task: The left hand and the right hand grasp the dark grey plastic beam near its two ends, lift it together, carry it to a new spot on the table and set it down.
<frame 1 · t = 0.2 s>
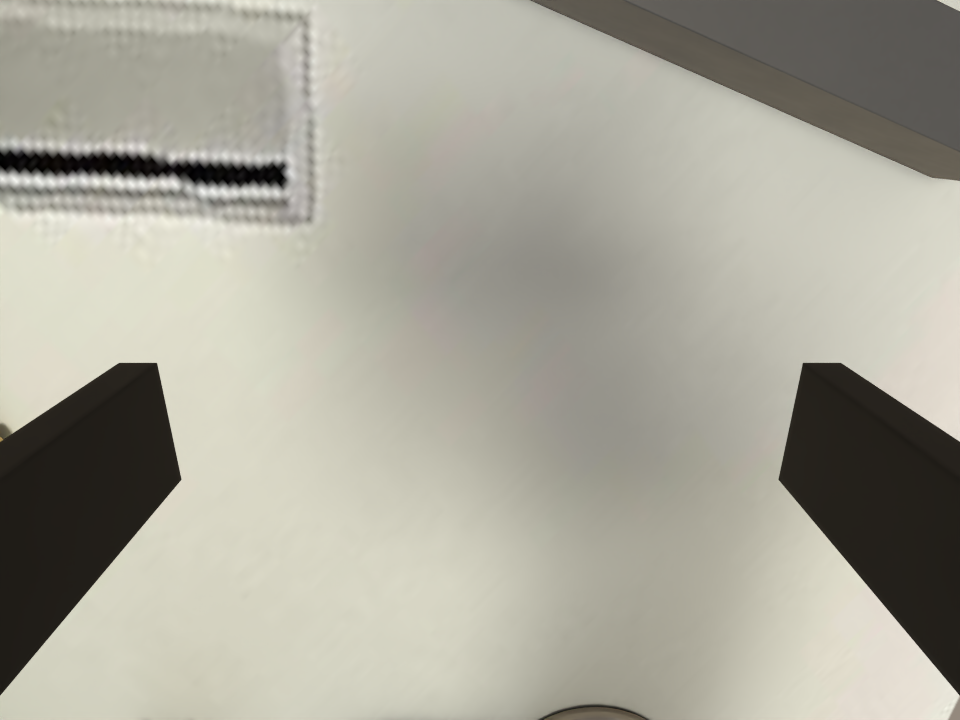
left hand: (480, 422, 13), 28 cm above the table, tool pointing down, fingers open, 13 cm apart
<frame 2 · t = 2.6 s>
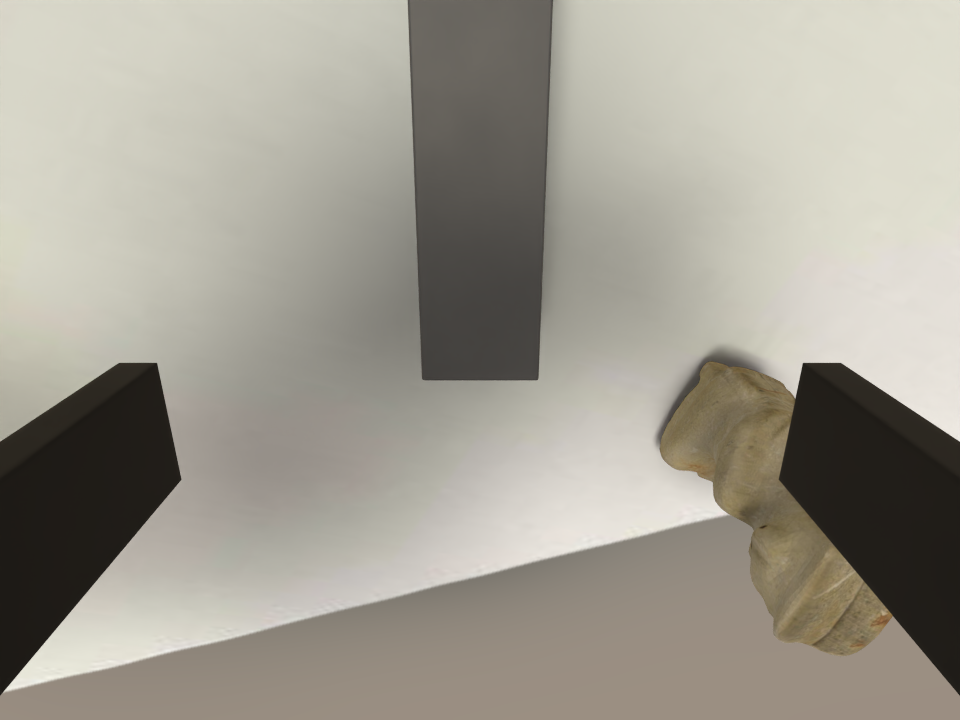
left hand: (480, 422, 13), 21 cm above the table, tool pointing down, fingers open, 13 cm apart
sculpture: (707, 406, 35), on the table
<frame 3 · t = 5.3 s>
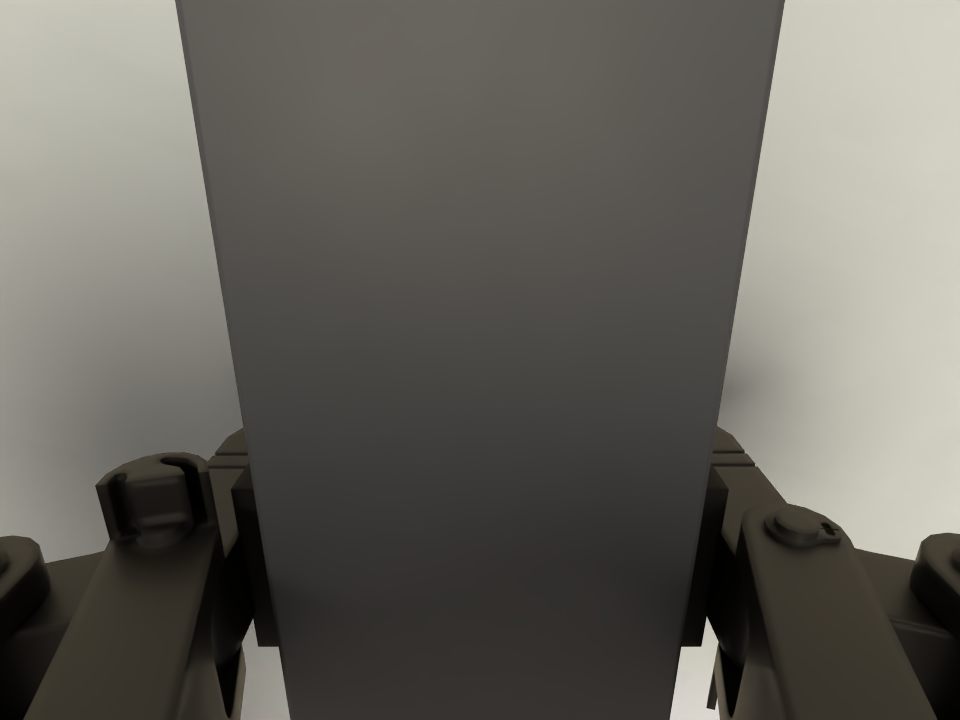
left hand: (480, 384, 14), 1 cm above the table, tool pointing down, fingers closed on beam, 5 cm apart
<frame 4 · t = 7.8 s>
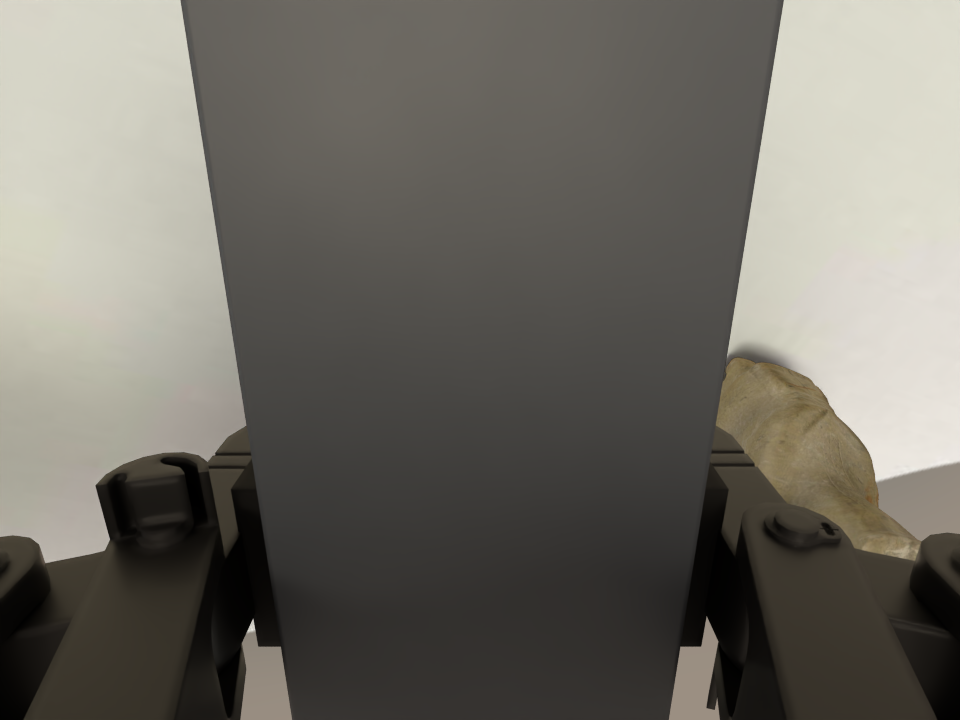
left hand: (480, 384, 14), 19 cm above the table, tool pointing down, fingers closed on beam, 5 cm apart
sculpture: (732, 403, 35), on the table
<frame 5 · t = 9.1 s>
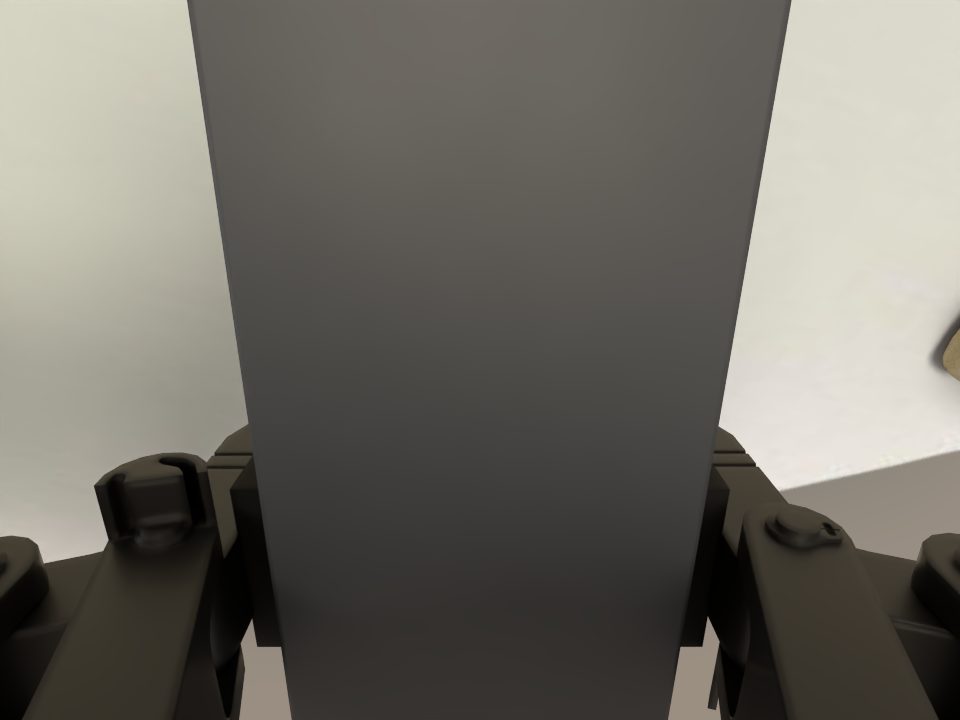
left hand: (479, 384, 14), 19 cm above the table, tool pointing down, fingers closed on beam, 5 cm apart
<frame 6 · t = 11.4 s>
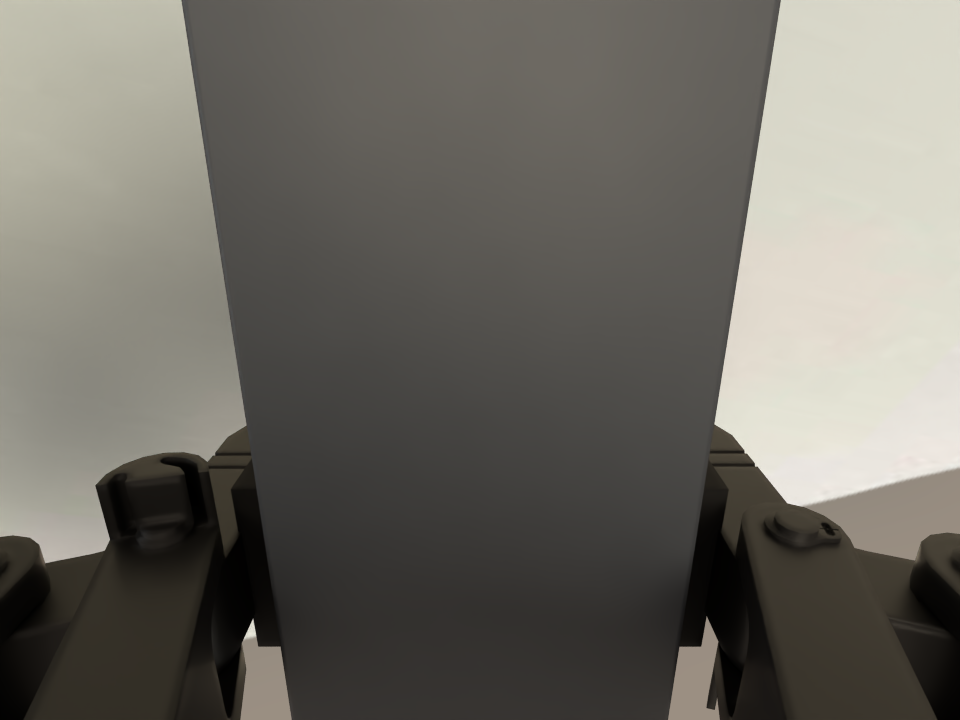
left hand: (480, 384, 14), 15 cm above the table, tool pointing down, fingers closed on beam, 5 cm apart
when the left hand's fingers open (1 cm above the table, at t = 13.2 s): beam stays where it is, on the table.
when the right hand's fingers open (4 cm above the table, at t = 13.4 s): beam stays where it is, on the table.
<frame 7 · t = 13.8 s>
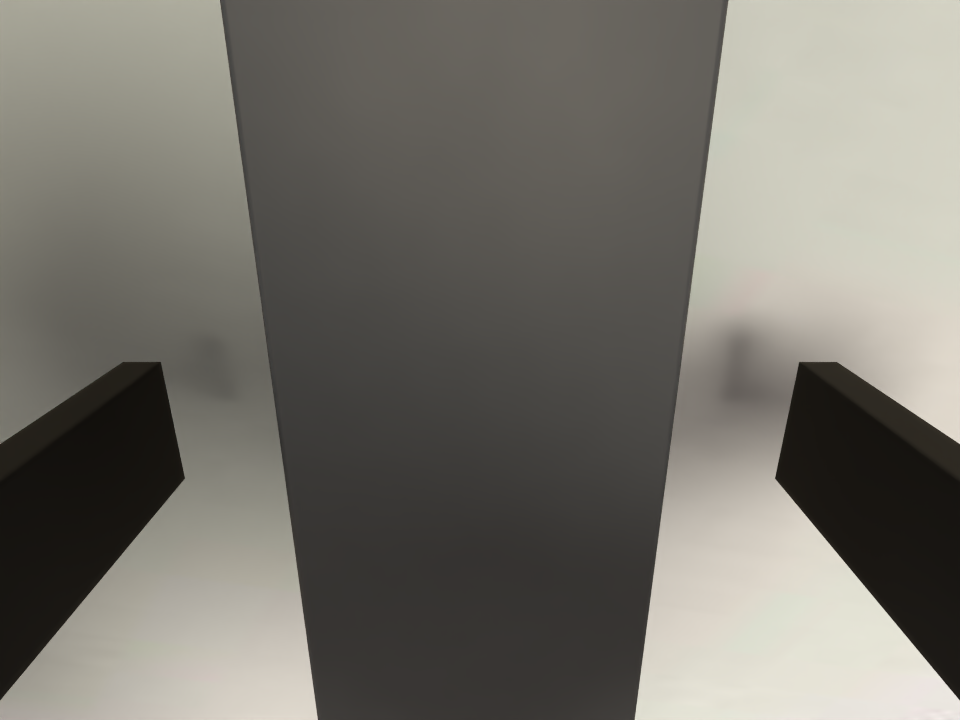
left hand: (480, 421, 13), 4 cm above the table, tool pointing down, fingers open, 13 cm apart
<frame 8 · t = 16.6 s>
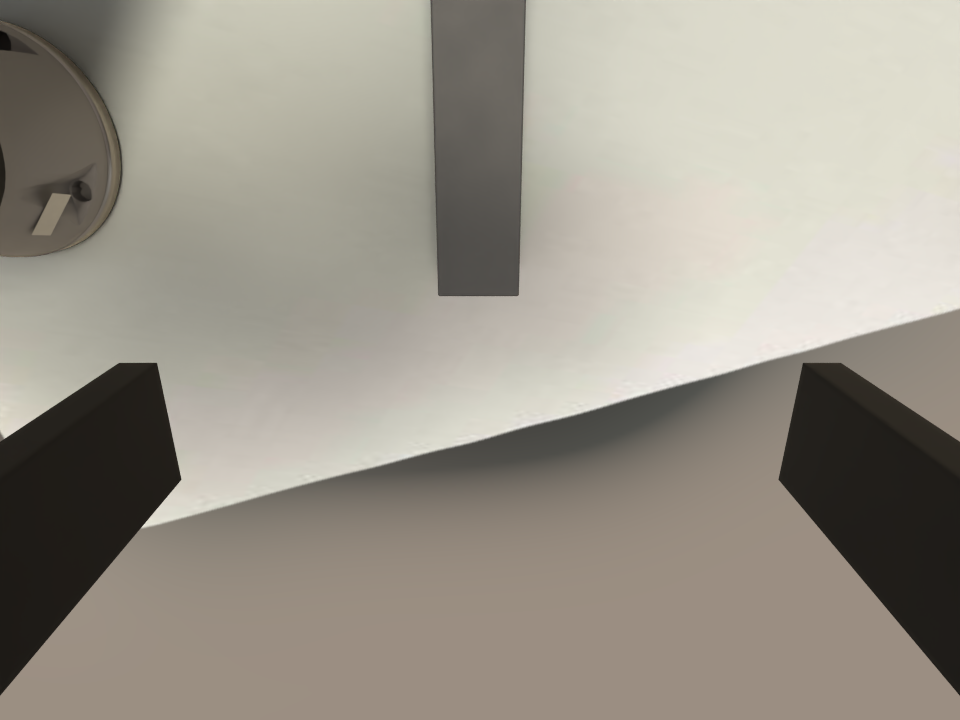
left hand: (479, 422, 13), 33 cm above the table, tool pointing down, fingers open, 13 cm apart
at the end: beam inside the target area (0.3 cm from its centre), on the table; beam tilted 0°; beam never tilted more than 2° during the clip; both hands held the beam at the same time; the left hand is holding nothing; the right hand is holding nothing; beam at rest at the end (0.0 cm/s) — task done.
